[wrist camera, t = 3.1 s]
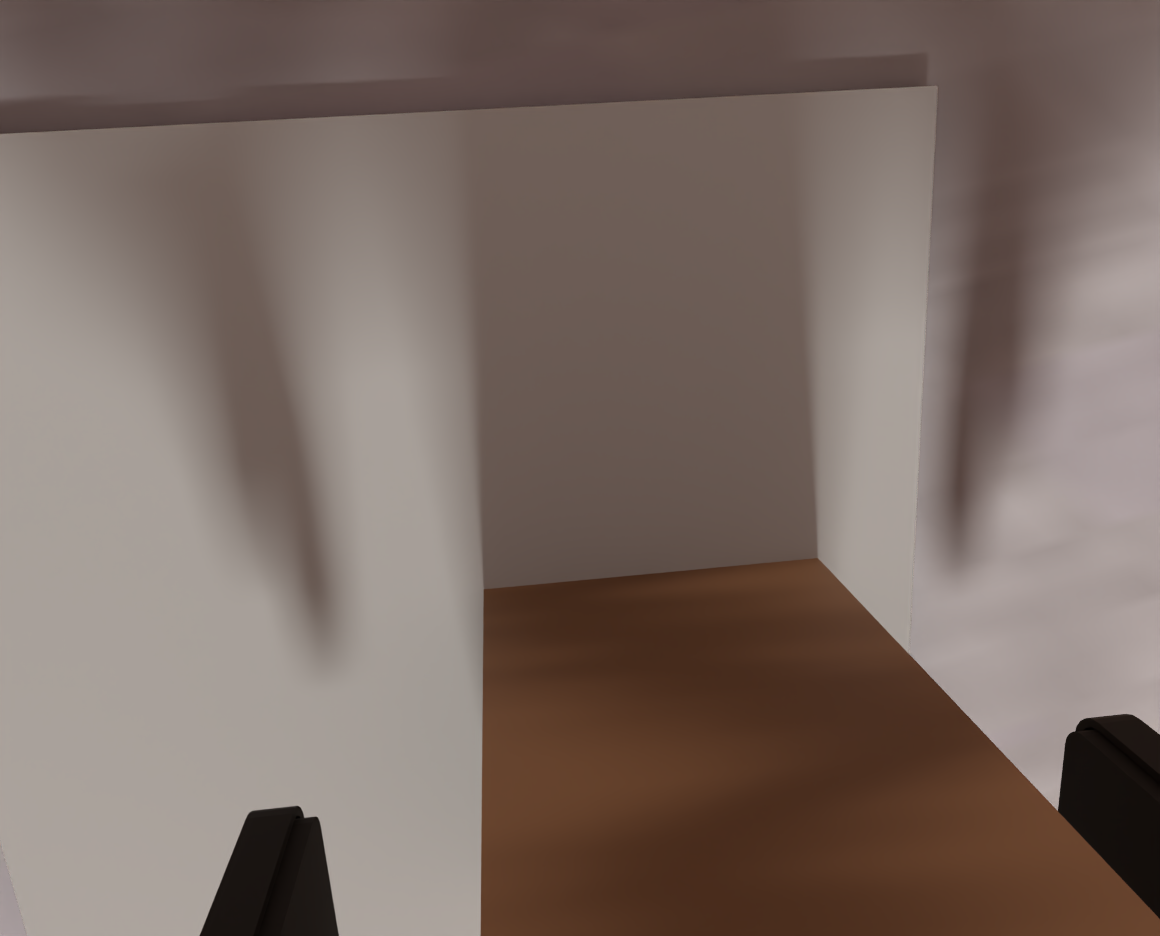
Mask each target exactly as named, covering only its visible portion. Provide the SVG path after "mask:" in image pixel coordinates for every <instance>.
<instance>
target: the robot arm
mask: <svg viewBox="0 0 1160 936" xmlns="http://www.w3.org/2000/svg"><path fill="white" fill-rule="evenodd" d="M1058 812H1059V813H1060V814H1061V815H1062V816H1063V817H1064V818H1065V819H1066V820H1067V822H1068V823H1069V824H1070V825H1071V826H1072V827H1073V828H1074V829H1075V830H1076V831H1077V832H1078V833H1079V834H1080V835H1081V836H1082V837H1083V838H1084V839H1085V841H1086V842H1087V843H1088V844H1089V845H1090V846H1091V847H1092V848H1093V849H1094V850H1095V851H1096V852H1097V853H1098V854H1099V855H1100V856H1101V857H1102V858H1103V860H1104V861H1105V862H1106V863H1107V864H1108V865H1109V866H1110V867H1111V868H1112V869H1113V870H1114V871H1115V872H1116V873H1117V874H1118V875H1119V876H1120V877H1121V879H1122V880H1123V881H1124V882H1125V883H1126V884H1127V885H1128V886H1129V887H1130V888H1131V889H1132V890H1133V891H1134V892H1135V893H1136V894H1137V895H1138V896H1139V898H1140V899H1141V900H1142V901H1143V902H1144V903H1145V904H1146V905H1147V906H1148V907H1149V908H1150V909H1151V910H1152V911H1153V912H1154V913H1155V914H1156V915H1157V917H1158V918H1159V919H1160V735H1159V734H1158V733H1157V732H1155V731H1154V730H1153V729H1152V728H1150V727H1149V726H1148V725H1147V724H1145V723H1144V722H1143V721H1141V720H1140V719H1139V718H1137V717H1135V716H1133V715H1129V714H1122V715H1113V716H1103V717H1094V718H1086V719H1084V720H1081V721H1080V722H1079V724H1078V725H1077V727H1076V731H1075V732H1072V733H1070V734H1069V735H1068V737H1067V739H1066V743H1065V751H1064V760H1063V770H1062V779H1061V788H1060V797H1059V807H1058ZM200 936H339V933H338V927H337V921H336V915H335V909H334V903H333V897H332V891H331V885H330V879H329V873H328V866H327V860H326V854H325V848H324V842H323V836H322V830H321V825H320V821H319V819H318V817H307V818H304V814H303V811H302V809H301V807H299V806H290V807H281V808H272V809H263V810H254V811H251V812H249V814H248V815H247V817H246V819H245V822H244V824H243V827H242V829H241V832H240V835H239V837H238V840H237V842H236V845H235V847H234V850H233V852H232V855H231V857H230V860H229V862H228V865H227V867H226V870H225V872H224V875H223V878H222V880H221V883H220V885H219V888H218V890H217V893H216V895H215V898H214V900H213V903H212V905H211V908H210V910H209V913H208V915H207V918H206V921H205V923H204V926H203V928H202V931H201V933H200Z"/></svg>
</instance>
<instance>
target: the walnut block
mask: <svg viewBox="0 0 1160 936" xmlns="http://www.w3.org/2000/svg"><path fill="white" fill-rule="evenodd" d="M480 936H1160V919H1159V918H1158V917H1157V915H1156V914H1155V913H1154V912H1153V911H1152V910H1151V909H1150V908H1149V907H1148V906H1147V905H1146V904H1145V903H1144V902H1143V901H1142V900H1141V899H1140V898H1139V896H1138V895H1137V894H1136V893H1135V892H1134V891H1133V890H1132V889H1131V888H1130V887H1129V886H1128V885H1127V884H1126V883H1125V882H1124V881H1123V880H1122V879H1121V877H1120V876H1119V875H1118V874H1117V873H1116V872H1115V871H1114V870H1113V869H1112V868H1111V867H1110V866H1109V865H1108V864H1107V863H1106V862H1105V861H1104V860H1103V858H1102V857H1101V856H1100V855H1099V854H1098V853H1097V852H1096V851H1095V850H1094V849H1093V848H1092V847H1091V846H1090V845H1089V844H1088V843H1087V842H1086V841H1085V839H1084V838H1083V837H1082V836H1081V835H1080V834H1079V833H1078V832H1077V831H1076V830H1075V829H1074V828H1073V827H1072V826H1071V825H1070V824H1069V823H1068V822H1067V820H1066V819H1065V818H1064V817H1063V816H1062V815H1061V814H1060V813H1059V812H1058V811H1057V810H1056V809H1055V808H1054V807H1053V806H1052V805H1051V804H1050V803H1049V801H1048V800H1047V799H1046V798H1045V797H1044V796H1043V795H1042V794H1041V793H1040V792H1039V791H1038V790H1037V789H1036V788H1035V787H1034V786H1033V785H1032V784H1031V782H1030V781H1029V780H1028V779H1027V778H1026V777H1025V776H1024V775H1023V774H1022V773H1021V772H1020V771H1019V770H1018V769H1017V768H1016V767H1015V766H1014V764H1013V763H1012V762H1011V761H1010V760H1009V759H1008V758H1007V757H1006V756H1005V755H1004V754H1003V753H1002V752H1001V751H1000V750H999V749H998V748H997V747H996V745H995V744H994V743H993V742H992V741H991V740H990V739H989V738H988V737H987V736H986V735H985V734H984V733H983V732H982V731H981V730H980V729H979V728H978V726H977V725H976V724H975V723H974V722H973V721H972V720H971V719H970V718H969V717H968V716H967V715H966V714H965V713H964V712H963V711H962V710H961V709H960V707H959V706H958V705H957V704H956V703H955V702H954V701H953V700H952V699H951V698H950V697H949V696H948V695H947V694H946V693H945V692H944V691H943V690H942V688H941V687H940V686H939V685H938V684H937V683H936V682H935V681H934V680H933V679H932V678H931V677H930V676H929V675H928V674H927V673H926V672H925V671H924V669H923V668H922V667H921V666H920V665H919V664H918V663H917V662H916V661H915V660H914V659H913V658H912V657H911V656H910V655H909V654H908V653H907V652H906V650H905V649H904V648H903V647H902V646H901V645H900V644H899V643H898V642H897V641H896V640H895V639H894V638H893V637H892V636H891V635H890V634H889V633H888V631H887V630H886V629H885V628H884V627H883V626H882V625H881V624H880V623H879V622H878V621H877V620H876V619H875V618H874V617H873V616H872V615H871V614H870V612H869V611H868V610H867V609H866V608H865V607H864V606H863V605H862V604H861V603H860V602H859V601H858V600H857V599H856V598H855V597H854V596H853V594H852V593H851V592H850V591H849V590H848V589H847V588H846V587H845V586H844V585H843V584H842V583H841V582H840V581H839V580H838V579H837V578H836V577H835V575H834V574H833V573H832V572H831V571H830V570H829V569H828V568H827V567H826V566H825V565H824V564H823V563H822V562H821V561H820V560H819V559H818V558H813V559H803V560H792V561H781V562H771V563H760V564H749V565H738V566H728V567H717V568H706V569H696V570H685V571H674V572H664V573H653V574H642V575H632V576H621V577H610V578H599V579H589V580H578V581H567V582H557V583H546V584H535V585H525V586H514V587H503V588H492V589H484V602H483V713H482V824H481V935H480Z"/></svg>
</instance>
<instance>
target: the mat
mask: <svg viewBox="0 0 1160 936" xmlns="http://www.w3.org/2000/svg"><path fill="white" fill-rule="evenodd" d="M937 95H938V86H920V87H900V88H881V89H861V90H842V91H823V92H803V93H784V94H764V95H745V96H726V97H706V98H687V99H668V100H648V101H629V102H609V103H590V104H571V105H551V106H532V107H512V108H493V109H474V110H454V111H435V112H415V113H396V114H377V115H357V116H338V117H318V118H299V119H280V120H260V121H241V122H221V123H202V124H183V125H163V126H144V127H125V128H105V129H86V130H66V131H47V132H28V133H8V134H0V843H1V847H2V850H3V854H4V857H5V861H6V864H7V868H8V871H9V875H10V878H11V882H12V885H13V889H14V892H15V896H16V899H17V903H18V906H19V910H20V913H21V917H22V920H23V924H24V927H25V931H26V934H27V936H200V933H201V931H202V928H203V926H204V923H205V921H206V918H207V915H208V913H209V910H210V908H211V905H212V903H213V900H214V898H215V895H216V893H217V890H218V888H219V885H220V883H221V880H222V878H223V875H224V872H225V870H226V867H227V865H228V862H229V860H230V857H231V855H232V852H233V850H234V847H235V845H236V842H237V840H238V837H239V835H240V832H241V829H242V827H243V824H244V822H245V819H246V817H247V815H248V814H249V812H251V811H254V810H263V809H272V808H281V807H290V806H299V807H301V809H302V811H303V814H304V818H307V817H318V819H319V821H320V825H321V830H322V836H323V842H324V848H325V854H326V860H327V866H328V873H329V879H330V885H331V891H332V897H333V903H334V909H335V915H336V921H337V927H338V933H339V936H480V935H481V824H482V713H483V602H484V589H492V588H503V587H514V586H525V585H535V584H546V583H557V582H567V581H578V580H589V579H599V578H610V577H621V576H632V575H642V574H653V573H664V572H674V571H685V570H696V569H706V568H717V567H728V566H738V565H749V564H760V563H771V562H781V561H792V560H803V559H813V558H818V559H819V560H820V561H821V562H822V563H823V564H824V565H825V566H826V567H827V568H828V569H829V570H830V571H831V572H832V573H833V574H834V575H835V577H836V578H837V579H838V580H839V581H840V582H841V583H842V584H843V585H844V586H845V587H846V588H847V589H848V590H849V591H850V592H851V593H852V594H853V596H854V597H855V598H856V599H857V600H858V601H859V602H860V603H861V604H862V605H863V606H864V607H865V608H866V609H867V610H868V611H869V612H870V614H871V615H872V616H873V617H874V618H875V619H876V620H877V621H878V622H879V623H880V624H881V625H882V626H883V627H884V628H885V629H886V630H887V631H888V633H889V634H890V635H891V636H892V637H893V638H894V639H895V640H896V641H897V642H898V643H899V644H900V645H901V646H902V647H903V648H904V649H905V650H906V652H907V653H908V654H909V649H910V629H911V609H912V589H913V570H914V550H915V530H916V510H917V490H918V471H919V451H920V431H921V411H922V392H923V372H924V352H925V332H926V313H927V293H928V273H929V253H930V234H931V214H932V194H933V174H934V154H935V135H936V115H937Z"/></svg>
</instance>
